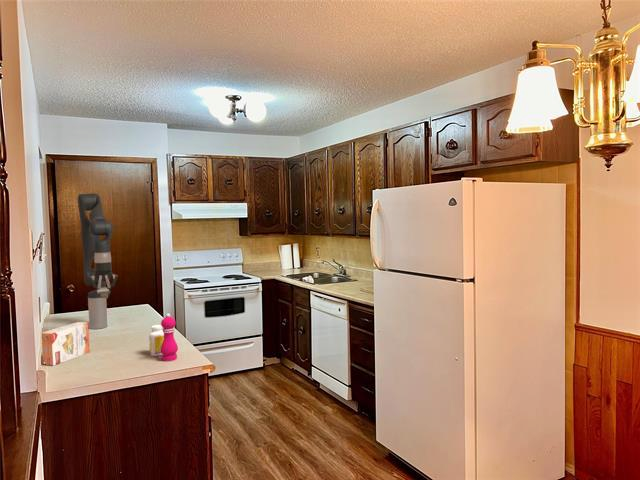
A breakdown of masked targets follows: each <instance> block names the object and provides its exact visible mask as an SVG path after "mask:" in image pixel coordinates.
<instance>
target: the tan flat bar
mask: <svg viewBox="0 0 640 480" xmlns="http://www.w3.org/2000/svg"><path fill="white" fill-rule="evenodd" d="M107 288H108V286H106V287H104V288H100V290H97V293H98V294H100V295H101V298H106V299H108V298H109V296H108V293H109V289H107Z"/></svg>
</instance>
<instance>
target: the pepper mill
mask: <svg viewBox="0 0 640 480" xmlns="http://www.w3.org/2000/svg"><path fill="white" fill-rule="evenodd" d="M160 325H161V326H162V331H163V332H164V340H163V343H162V345H161V350H160V351H161V353H162V354H163V355H161V360H162V361H163V362H172V361H176V360H177V359H178V354H177V352H178V351H179V348H178V347H179V346H178V343H177V342H176V340H175V336H174V333H175V326H176V319H175V318H174V317H172V316H171V314H170V313H166V314H165V317H164V318H162V320H161V321H160Z"/></svg>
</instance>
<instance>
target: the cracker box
mask: <svg viewBox="0 0 640 480" xmlns="http://www.w3.org/2000/svg"><path fill="white" fill-rule="evenodd" d="M89 329H90V328H89V322H85V321H76V322H73V323H70V324H66V325H63V326H59V327H56V328H53V329H50V330H46V331H43V332H41V349H42V361H43V360H44V362H45V364H46V365H45V366H51V365H52V366H53V367H54V366H57V365H59V364H61V363H64V362H67V361H69V360H72V359H74V358H77V357H80V356H82V355H85V354H87V353H89V352H90V334H89V333H90V331H89Z"/></svg>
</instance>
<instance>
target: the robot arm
mask: <svg viewBox="0 0 640 480" xmlns="http://www.w3.org/2000/svg"><path fill="white" fill-rule="evenodd" d="M77 207H78V212H79V219H80V220H79V221H80V233H81V236H80V237H81V238H80V239H81V247H82V257H83V280H84V284H85V285H86V286H92V287H93V289H94V290H91V291H89V292H88V293H87V302H88V303H87V306H88V329H90V330H99V329H105V328H107V327H108V309H107V307H108V306H107V305H108V304H107V298H101V295H100V294H98V293H97V290H100V288H104V287H107V289H109V293H108V297H110V295H111V294H112V293H111V292H112V291H111V288H113V287H114V286H116V283H117V280H118V278H119V275H118V274H114V273H113V271H112V270H113V269H112V255H111V240H112V239H111V238H112V235H113V231H114V225H113V223H112V222H111V221H109V220H106V216H105V214H104V211H103V205H102V199H101V196H100V194H98V193H79V194H78V196H77ZM87 211H88V212H89V211H90V212H89V214H88V215H89V216H88V215H87V213H86V212H87ZM101 236H104V238H102V239H101ZM93 261H94V268H92V267H91V266H92V262H93ZM111 279H113V280H112V283H111V282H110V280H111Z"/></svg>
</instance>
